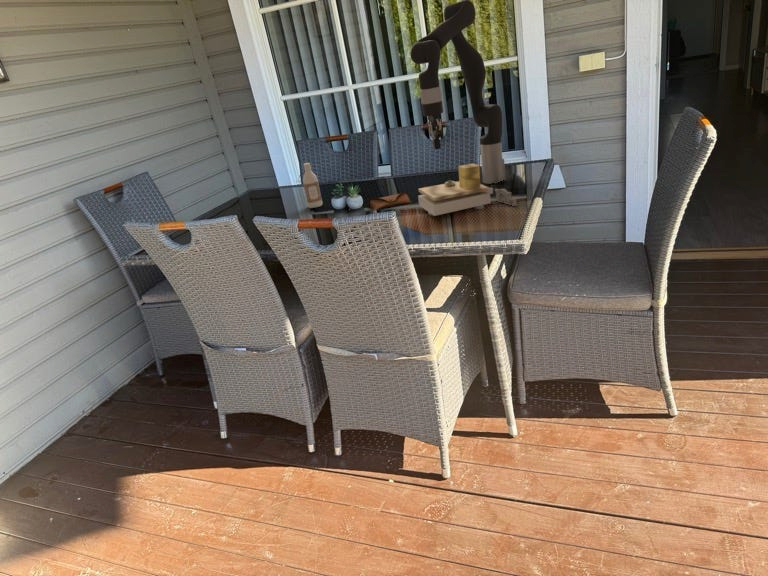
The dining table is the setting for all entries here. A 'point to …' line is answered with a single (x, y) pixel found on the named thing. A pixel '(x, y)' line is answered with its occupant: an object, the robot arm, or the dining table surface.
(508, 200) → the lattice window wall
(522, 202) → the dining table surface
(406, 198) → the sunglasses case
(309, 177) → the tan bottle
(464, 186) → the instrument plate
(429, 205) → the base
